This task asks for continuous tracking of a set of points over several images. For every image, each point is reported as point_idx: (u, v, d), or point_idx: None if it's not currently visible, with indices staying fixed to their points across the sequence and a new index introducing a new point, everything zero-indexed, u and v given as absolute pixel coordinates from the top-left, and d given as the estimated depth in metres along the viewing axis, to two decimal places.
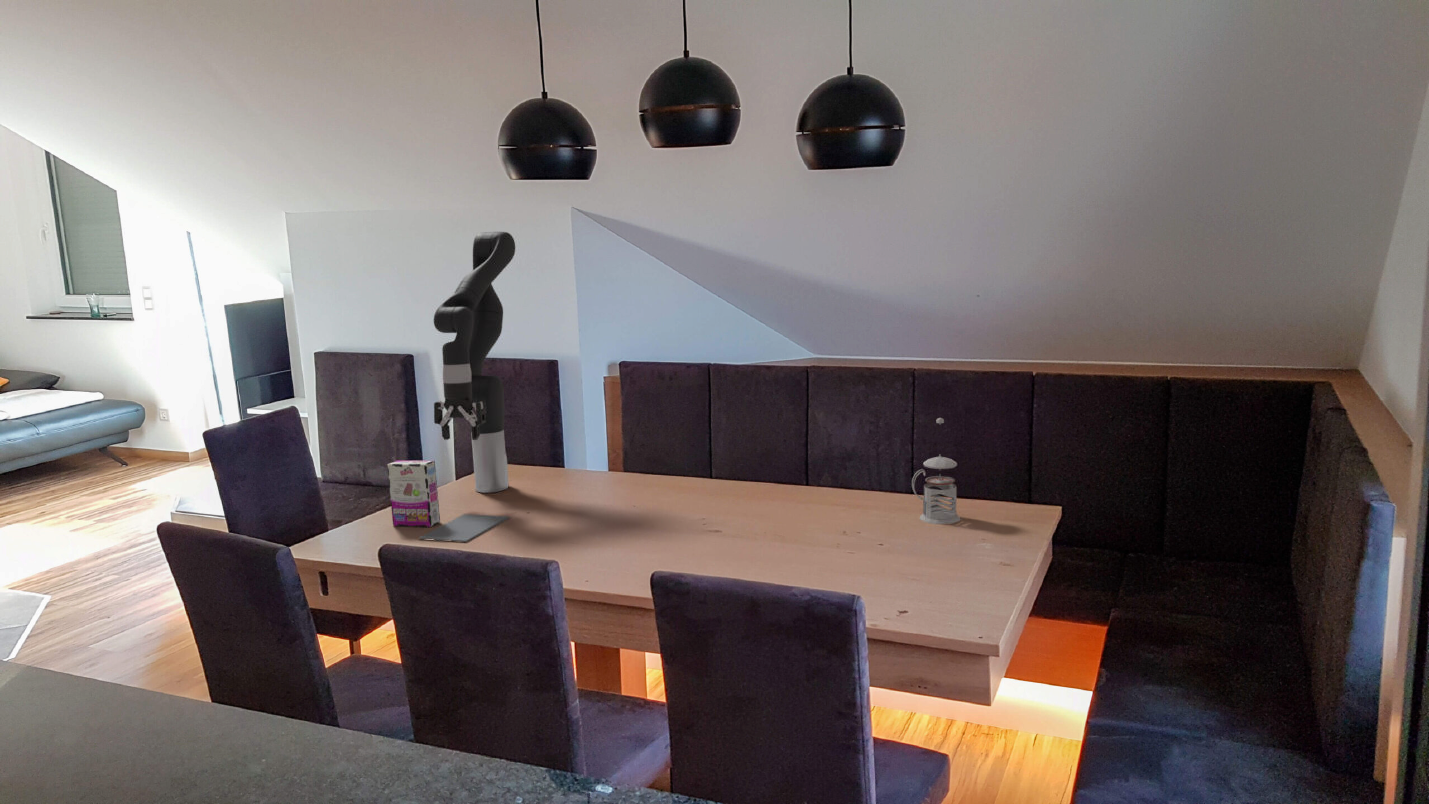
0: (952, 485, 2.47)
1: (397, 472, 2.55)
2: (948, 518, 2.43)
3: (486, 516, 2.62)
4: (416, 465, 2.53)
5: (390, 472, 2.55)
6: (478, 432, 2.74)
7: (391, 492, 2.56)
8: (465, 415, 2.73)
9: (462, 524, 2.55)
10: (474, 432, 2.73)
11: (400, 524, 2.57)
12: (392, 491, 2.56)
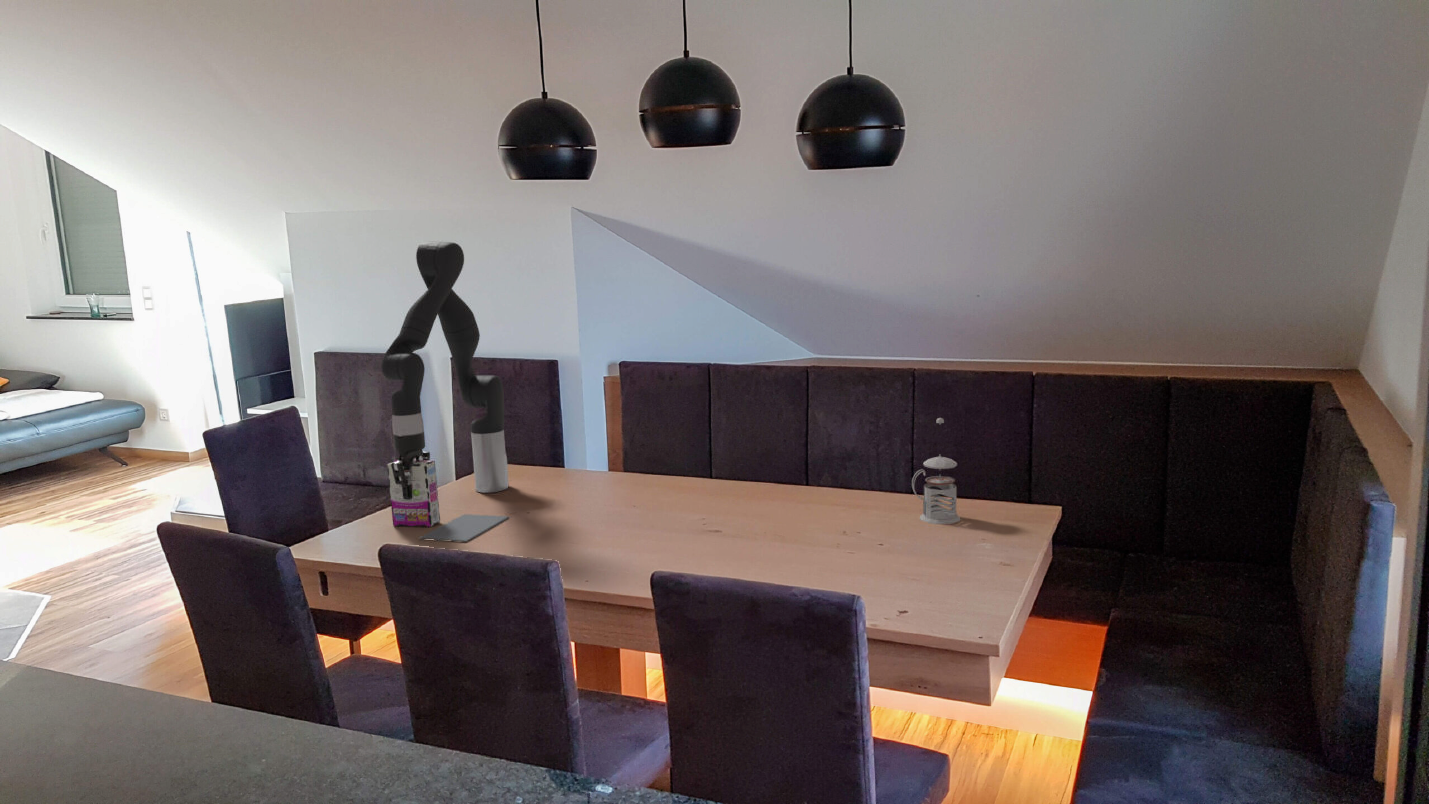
0: (952, 485, 2.47)
1: None
2: (948, 518, 2.43)
3: (486, 516, 2.62)
4: (416, 465, 2.53)
5: (390, 472, 2.55)
6: None
7: (391, 492, 2.56)
8: None
9: (462, 524, 2.55)
10: None
11: (400, 524, 2.57)
12: (392, 491, 2.56)
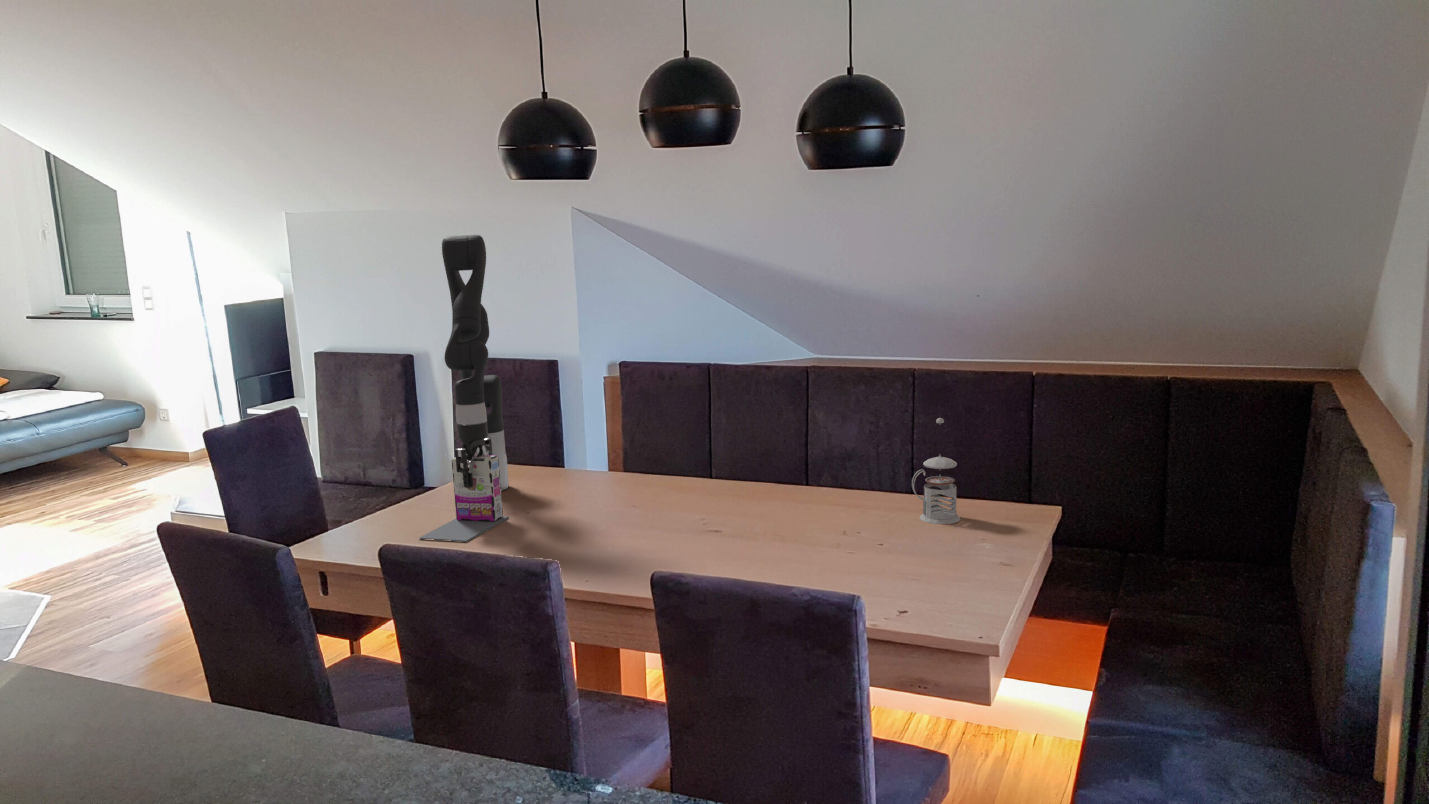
0: (952, 485, 2.47)
1: None
2: (948, 518, 2.43)
3: None
4: (480, 460, 2.54)
5: (454, 466, 2.56)
6: None
7: (455, 486, 2.57)
8: (485, 454, 2.59)
9: (462, 524, 2.55)
10: None
11: (463, 518, 2.58)
12: (456, 485, 2.57)
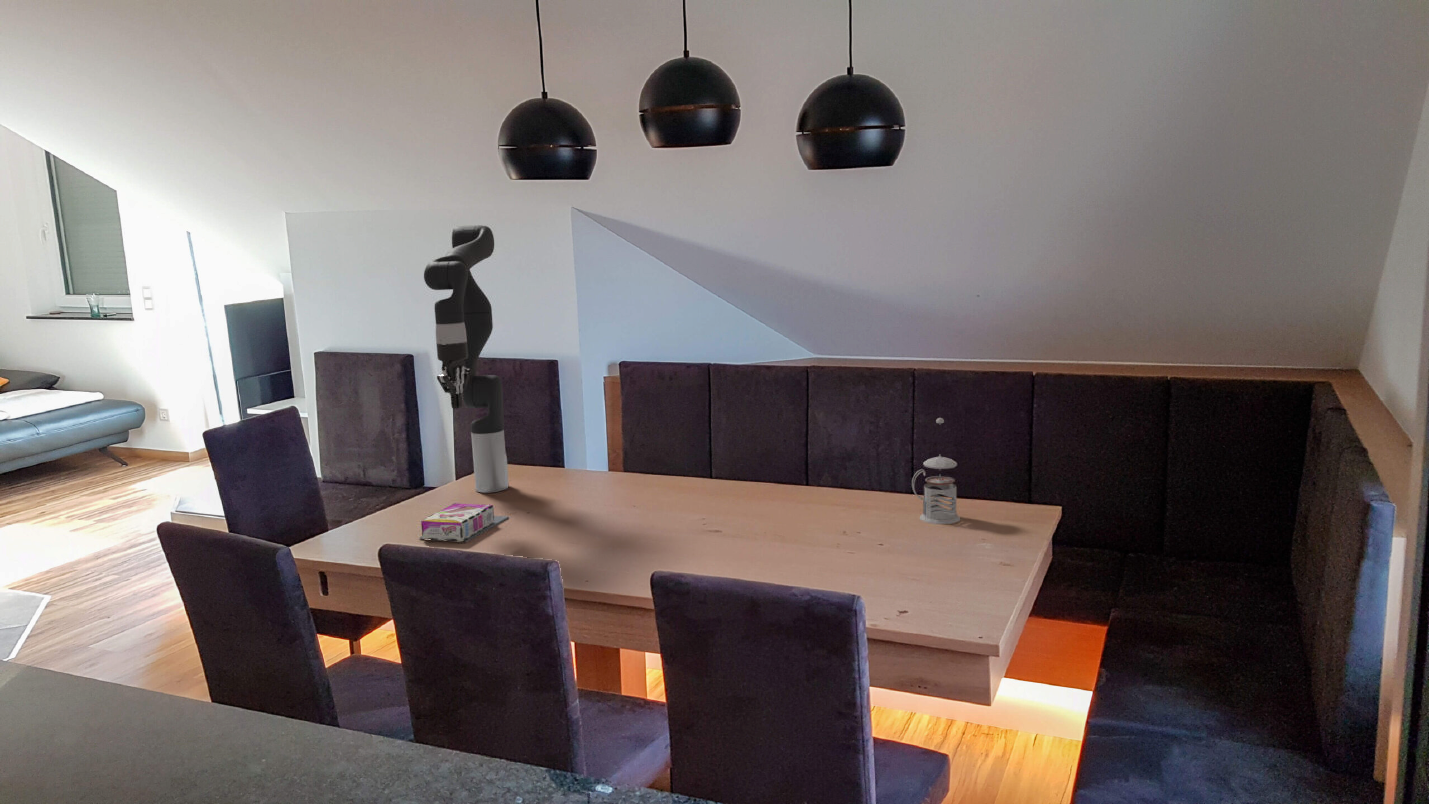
0: (952, 485, 2.47)
1: None
2: (948, 518, 2.43)
3: None
4: (453, 540, 2.41)
5: None
6: None
7: None
8: (462, 378, 2.58)
9: None
10: None
11: None
12: None
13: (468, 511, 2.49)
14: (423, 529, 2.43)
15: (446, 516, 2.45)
